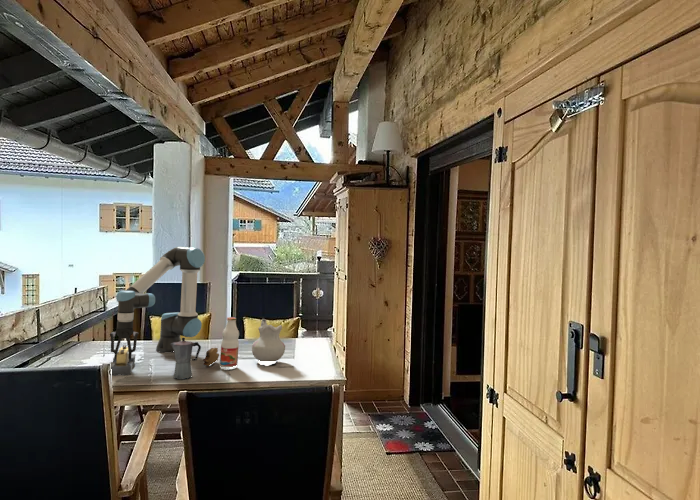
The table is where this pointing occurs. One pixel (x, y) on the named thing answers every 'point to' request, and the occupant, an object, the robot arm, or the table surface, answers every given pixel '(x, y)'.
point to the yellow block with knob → (122, 356)
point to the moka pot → (184, 358)
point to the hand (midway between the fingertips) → (122, 365)
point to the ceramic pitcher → (268, 343)
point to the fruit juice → (229, 344)
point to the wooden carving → (211, 356)
